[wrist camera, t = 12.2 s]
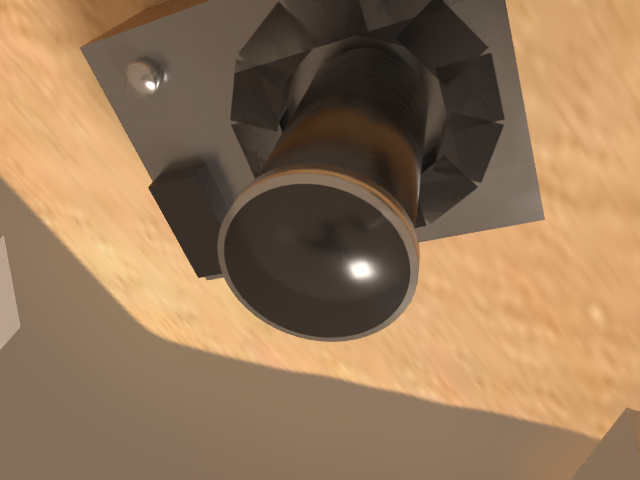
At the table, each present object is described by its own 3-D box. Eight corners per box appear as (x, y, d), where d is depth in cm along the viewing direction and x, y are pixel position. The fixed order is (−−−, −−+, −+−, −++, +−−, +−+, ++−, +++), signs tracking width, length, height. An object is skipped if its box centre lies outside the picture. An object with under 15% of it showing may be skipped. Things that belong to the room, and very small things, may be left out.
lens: (293, 149, 26) (209, 314, 17) (314, 28, 23) (226, 153, 14) (412, 180, 26) (388, 363, 17) (450, 61, 23) (446, 210, 14)
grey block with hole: (143, 10, 29) (63, 56, 23) (480, -116, 23) (488, -96, 17) (241, 216, 35) (198, 295, 29) (530, 154, 29) (548, 235, 23)
